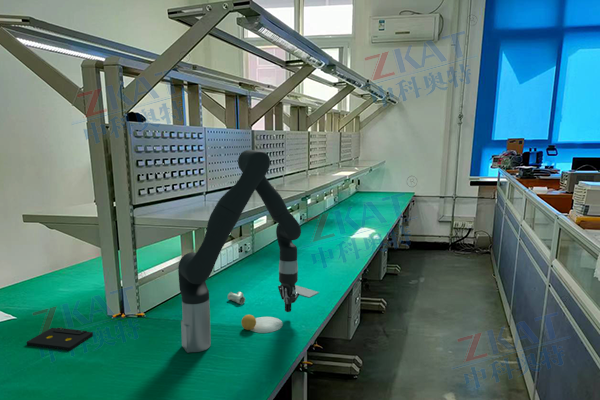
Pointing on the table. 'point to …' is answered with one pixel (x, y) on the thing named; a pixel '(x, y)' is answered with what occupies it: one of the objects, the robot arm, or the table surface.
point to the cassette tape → (60, 339)
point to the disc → (267, 325)
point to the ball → (248, 322)
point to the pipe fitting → (236, 297)
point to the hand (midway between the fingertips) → (288, 311)
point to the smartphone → (305, 291)
